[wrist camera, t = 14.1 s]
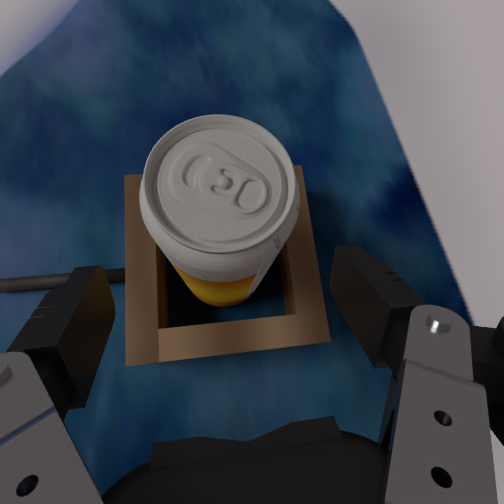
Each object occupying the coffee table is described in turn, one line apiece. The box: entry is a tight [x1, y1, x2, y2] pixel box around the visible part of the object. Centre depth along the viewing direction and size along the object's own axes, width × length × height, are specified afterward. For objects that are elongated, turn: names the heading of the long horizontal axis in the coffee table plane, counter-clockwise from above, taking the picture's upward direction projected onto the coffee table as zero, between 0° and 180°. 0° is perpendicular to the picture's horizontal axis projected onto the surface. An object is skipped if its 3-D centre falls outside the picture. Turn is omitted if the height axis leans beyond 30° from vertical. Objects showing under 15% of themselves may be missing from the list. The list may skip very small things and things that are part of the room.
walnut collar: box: [0, 165, 331, 366], centre depth 23 cm, size 24×13×4 cm, turn 96°
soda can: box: [139, 115, 300, 307], centre depth 18 cm, size 6×6×15 cm
